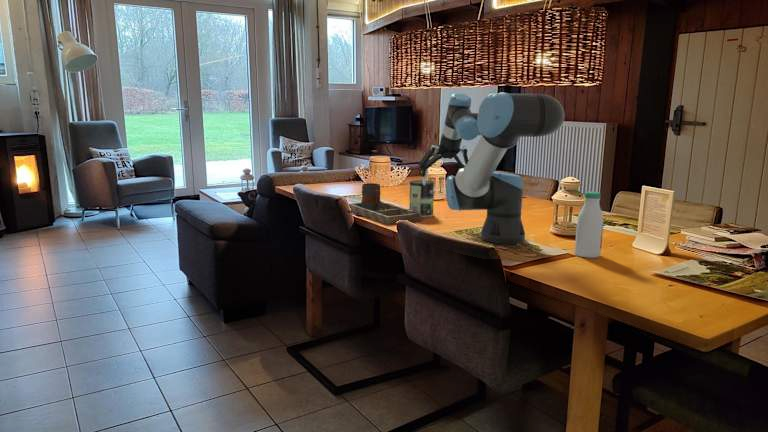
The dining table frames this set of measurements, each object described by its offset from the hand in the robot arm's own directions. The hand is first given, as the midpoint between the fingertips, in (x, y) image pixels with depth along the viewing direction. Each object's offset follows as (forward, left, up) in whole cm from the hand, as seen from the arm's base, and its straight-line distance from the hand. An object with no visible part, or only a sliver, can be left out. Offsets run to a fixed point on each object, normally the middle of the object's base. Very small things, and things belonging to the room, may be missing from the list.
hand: (440, 184), depth 215 cm
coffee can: (+16, +3, -16) cm, 23 cm away
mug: (+25, +22, -16) cm, 37 cm away
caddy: (+17, +19, -15) cm, 30 cm away
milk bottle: (-53, -32, -16) cm, 64 cm away
